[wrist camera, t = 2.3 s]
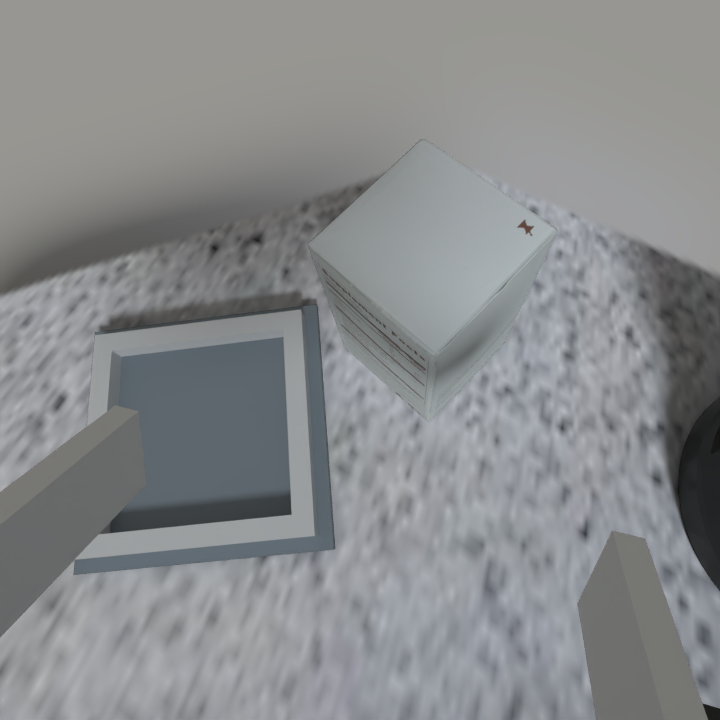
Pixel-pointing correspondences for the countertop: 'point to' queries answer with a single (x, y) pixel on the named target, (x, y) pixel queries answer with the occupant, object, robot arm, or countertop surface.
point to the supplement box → (429, 274)
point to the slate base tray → (217, 439)
